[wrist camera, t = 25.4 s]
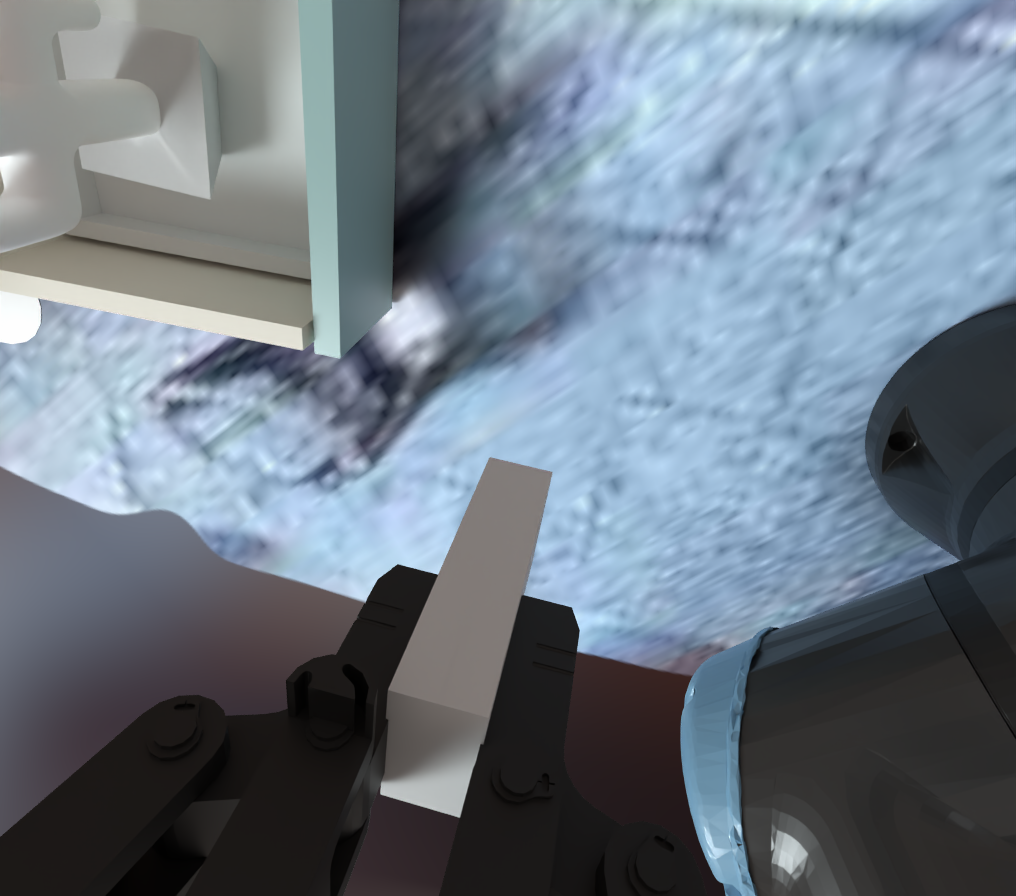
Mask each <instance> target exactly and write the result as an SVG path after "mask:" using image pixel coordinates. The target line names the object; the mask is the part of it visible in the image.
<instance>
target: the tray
mask: <svg viewBox="0 0 1016 896" xmlns="http://www.w3.org/2000/svg"><path fill="white" fill-rule="evenodd" d="M95 1H96V3H97V5H98V7H99V9H100V13H101V15H103V16H108V17H112V18H116V19H121V20H125V21H129V22H134V23H138V24H143V25H147V26H151V27H156V28H160V29H164V30H169V31H173V32H177V33H182V34H186V35H191V36H195V37H199V39H200V41H201V42H202V44H203V45H204V47H205V49H206V50H207V52H208V54H209V55H210V57H211V58H212V60H213V62H214V63H215V65H216V68H217V84H218V100H219V116H220V132H221V148H222V157H221V161H220V165H219V169H218V173H217V177H216V181H215V185H214V189H213V193H212V196H211V200H210V199H205V198H201V197H197V196H193V195H189V194H185V193H181V192H177V191H173V190H168V189H164V188H160V187H156V186H152V185H148V184H144V183H140V182H135V181H131V180H127V179H123V178H119V177H115V176H111V175H107V174H102V173H98V172H94V171H90V170H86V169H82V165H81V159H80V154H79V148H78V149H77V150H76V152H75V155H74V168H75V173H76V178H77V184H78V189H79V195H80V200H81V206H82V215H81V219H80V221H79V223H78V225H77V226H76V227H74V228H73V229H72V230H70V231H68V232H66V234H69V235H74V236H79V237H85V238H90V239H95V240H101V241H106V242H111V243H117V244H122V245H128V246H133V247H138V248H144V249H149V250H154V251H160V252H165V253H170V254H176V255H181V256H187V257H192V258H197V259H203V260H208V261H213V262H219V263H224V264H229V265H235V266H240V267H245V268H251V269H256V270H262V271H267V272H272V273H278V274H283V275H288V276H294V277H299V278H304V279H310V280H311V284H312V305H313V326H314V347H315V353H316V354H321V355H326V356H331V357H336V358H341V357H342V356H343V355H344V354H345V353H346V352H347V351H348V350H349V349H350V348H351V347H352V346H353V345H354V344H355V343H357V342H358V341H359V340H360V339H361V338H362V337H363V336H364V335H365V334H366V333H367V332H368V331H369V330H370V329H371V328H372V327H373V326H374V325H375V324H376V323H377V322H378V321H379V320H380V319H381V318H382V317H383V316H384V315H385V314H386V313H387V312H388V311H389V310H390V309H391V308H392V280H393V239H394V198H395V157H396V116H397V75H398V34H399V0H95ZM52 48H53V54H54V59H55V65H56V70H57V75H58V80H66V75H65V70H64V64H63V59H62V53H61V47H60V42H59V36H58V32H57V33H56V34H55V35H54V37H53V39H52Z"/></svg>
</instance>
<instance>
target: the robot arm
mask: <svg viewBox="0 0 1016 896" xmlns="http://www.w3.org/2000/svg"><path fill="white" fill-rule="evenodd" d="M865 449H866V458H867V463H868V466H869V470H870V472H871V475H872V477H873V479H874V481H875V483H876V484H877V486H878V488H879V490H880V491H881V493H882V495H883V497H884V498H885V500H886V501H887V503H888V504H889V506H890V507H891V508H892V509H893V511H894V512H895V513H896V514H897V515H898V516H899V517H900V518H901V519H902V520H903V521H904V522H905V523H907V524H908V525H909V526H910V527H912V528H913V529H915V530H916V531H918V532H919V533H921V534H922V535H924V536H925V537H927V538H928V539H930V540H931V541H933V542H934V543H936V544H937V545H938V546H940V547H941V548H943V549H944V550H946V551H947V552H949V553H950V554H952V555H953V556H955V557H956V558H958V559H959V560H961V561H958V562H957V563H954V564H951V565H949V566H946V567H943V568H941V569H938V570H935V571H933V572H930V573H927V574H923V575H920V576H917V577H915V578H912V579H909V580H907V581H904V582H902V583H899V584H896V585H894V586H891V587H888V588H886V589H883V590H880V591H878V592H875V593H873V594H870V595H867V596H865V597H862V598H859V599H857V600H854V601H852V602H849V603H846V604H844V605H841V606H838V607H836V608H833V609H831V610H828V611H825V612H823V613H820V614H817V615H815V616H812V617H810V618H807V619H804V620H802V621H799V622H796V623H794V624H791V625H789V626H786V627H783V628H773V627H768V628H765V629H763V630H761V631H759V632H758V633H757V634H756V635H755V636H754V637H753V638H752V639H750V640H747V641H745V642H743V643H741V644H738V645H736V646H734V647H732V648H729V649H727V650H725V651H723V652H720V653H718V654H716V655H714V656H712V657H711V658H709V659H707V660H706V661H705V662H704V663H703V664H702V665H701V666H700V667H699V668H698V669H697V671H696V672H695V674H694V675H693V677H692V679H691V681H690V683H689V686H688V690H687V692H686V695H685V706H684V710H683V712H682V717H681V755H682V766H683V774H684V780H685V786H686V792H687V796H688V801H689V805H690V810H691V814H692V817H693V821H694V825H695V828H696V832H697V835H698V838H699V841H700V844H701V846H702V849H703V852H704V854H705V857H706V859H707V861H708V863H709V865H710V867H711V870H712V872H713V874H714V876H715V878H716V879H717V880H718V881H720V882H721V883H724V889H725V894H726V896H1016V305H1011V306H1007V307H1004V308H1000V309H997V310H994V311H991V312H988V313H985V314H982V315H980V316H977V317H975V318H972V319H970V320H968V321H966V322H964V323H961V324H960V325H958V326H956V327H954V328H952V329H950V330H948V331H947V332H945V333H943V334H942V335H940V336H938V337H937V338H936V339H934V340H933V341H931V342H930V343H928V344H927V345H926V346H924V347H923V348H922V349H920V350H919V351H918V352H917V353H916V354H914V355H913V356H912V357H911V358H910V359H909V360H908V361H907V362H906V363H905V364H904V365H903V366H902V367H901V368H900V369H899V370H898V371H897V372H896V373H895V375H894V376H893V377H892V378H891V380H890V381H889V382H888V384H887V385H886V387H885V388H884V389H883V391H882V393H881V394H880V396H879V398H878V400H877V402H876V404H875V406H874V408H873V411H872V413H871V416H870V419H869V422H868V426H867V431H866V440H865ZM551 477H552V472H550V471H546V470H541V469H537V468H533V467H529V466H524V465H520V464H516V463H512V462H508V461H503V460H499V459H495V458H491V457H490V458H489V460H488V462H487V464H486V467H485V469H484V471H483V474H482V476H481V478H480V480H479V483H478V485H477V487H476V490H475V492H474V494H473V496H472V499H471V501H470V503H469V506H468V508H467V510H466V513H465V515H464V517H463V519H462V522H461V524H460V526H459V529H458V531H457V533H456V535H455V538H454V540H453V542H452V545H451V547H450V549H449V551H448V554H447V556H446V558H445V561H444V563H443V565H442V567H441V570H440V572H439V574H438V575H437V574H433V573H429V572H425V571H421V570H417V569H414V568H410V567H406V566H402V565H398V564H397V565H396V566H395V567H393V568H392V569H391V570H390V571H388V572H387V573H386V574H384V575H383V576H382V577H380V578H379V579H378V580H377V582H376V584H375V585H374V587H373V589H372V591H371V593H370V594H369V596H368V598H367V601H366V604H364V605H363V607H362V609H361V611H360V613H359V614H358V617H357V620H356V621H355V622H354V623H353V625H352V627H351V629H350V631H349V632H348V634H347V636H346V638H345V640H344V641H343V643H342V645H341V647H340V649H339V650H338V652H337V654H336V655H326V656H322V657H317V658H313V659H311V660H310V661H308V662H306V663H304V664H303V665H301V666H299V667H298V668H297V669H296V670H295V671H294V672H293V673H292V674H291V675H290V676H289V678H288V679H287V680H286V689H287V704H288V709H286V710H283V711H280V712H276V713H269V714H258V715H236V716H235V715H234V716H225V713H224V710H223V709H222V708H221V707H220V706H219V705H218V704H217V703H216V702H215V701H214V700H211V699H209V698H206V697H202V696H200V695H189V696H188V695H187V696H177V697H174V698H171V699H168V700H166V701H163V702H160V703H158V704H157V705H155V706H154V707H152V708H151V709H149V710H148V711H146V712H145V713H143V714H142V715H141V716H139V717H138V718H137V719H136V720H135V721H134V722H133V723H131V724H130V725H129V726H128V727H127V728H126V729H124V730H123V731H122V732H121V733H120V734H119V735H117V736H116V737H115V738H114V739H113V740H112V741H111V742H109V743H108V744H107V745H106V746H105V747H104V748H102V749H101V750H100V751H99V752H98V753H97V754H96V755H94V756H93V757H92V758H91V759H90V760H89V761H87V762H86V763H85V764H84V765H83V766H82V767H81V768H79V769H78V770H77V771H76V772H75V773H74V774H72V775H71V776H70V777H69V778H68V779H67V780H66V781H64V782H63V783H62V784H61V785H60V786H59V787H58V788H56V789H55V790H54V791H53V792H52V793H50V794H49V795H48V796H47V797H46V798H45V799H44V800H42V801H41V802H40V803H39V804H38V805H37V806H35V807H34V808H33V809H32V810H31V811H30V812H29V813H27V814H26V815H25V816H24V817H23V818H22V819H20V820H19V821H18V822H17V823H16V824H15V825H13V826H12V827H11V828H10V829H9V830H8V831H7V832H5V833H4V834H3V835H2V836H1V837H0V896H343V894H344V892H345V889H346V887H347V884H348V882H349V879H350V876H351V874H352V871H353V868H354V865H355V863H356V860H357V858H358V855H359V852H360V850H361V847H362V845H363V842H364V839H365V836H366V834H367V831H368V825H369V819H370V810H371V807H372V804H373V802H374V799H375V796H376V794H377V791H378V789H379V786H380V784H381V793H380V794H381V795H385V796H388V797H392V798H395V799H398V800H402V801H405V802H409V803H412V804H416V805H419V806H422V807H426V808H430V809H433V810H436V811H439V812H443V813H446V814H450V815H453V816H456V817H460V819H459V823H458V826H457V830H456V834H455V838H454V842H453V845H452V849H451V853H450V857H449V860H448V864H447V868H446V872H445V876H444V879H443V883H442V887H441V890H440V894H439V896H707V894H706V890H705V887H704V883H703V879H702V875H701V873H700V871H699V868H698V866H697V864H696V862H695V859H694V857H693V855H692V853H691V852H690V851H689V850H688V848H687V847H686V846H685V845H684V844H683V842H682V841H681V840H680V839H679V838H678V837H677V836H676V835H674V834H672V833H671V832H669V831H668V830H667V829H665V828H663V827H662V826H660V825H656V824H652V823H648V822H644V821H640V822H635V823H629V824H625V825H624V826H621V825H620V824H619V823H617V822H616V821H614V820H613V819H611V818H610V817H608V816H607V815H605V814H604V813H602V812H601V811H599V810H598V809H596V808H595V807H594V806H592V805H591V804H590V803H589V802H588V801H587V800H585V799H584V798H583V797H582V796H581V794H580V793H579V792H578V791H577V789H576V788H575V787H574V785H573V783H572V781H571V779H570V778H569V775H568V774H567V770H566V766H565V762H564V743H565V736H566V728H567V721H568V714H569V706H570V699H571V691H572V684H573V674H574V668H575V661H576V654H577V646H578V639H579V631H580V630H579V627H578V624H577V621H576V618H575V615H574V613H573V610H572V607H568V606H564V605H560V604H556V603H552V602H548V601H544V600H540V599H537V598H533V597H529V596H525V595H524V593H525V589H526V585H527V581H528V577H529V573H530V569H531V565H532V561H533V556H534V552H535V548H536V543H537V539H538V534H539V530H540V525H541V521H542V517H543V512H544V508H545V503H546V499H547V494H548V490H549V486H550V481H551Z"/></svg>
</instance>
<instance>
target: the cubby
mask: <svg viewBox="0 0 1016 896" xmlns="http://www.w3.org/2000/svg"><path fill="white" fill-rule="evenodd" d="M3 190H4V183H3V179H2V175H1V171H0V196H1V194H2V193H3ZM0 291H4V292H9V293H14V294H19V295H24V296H29V297H34V298H39V299H45V300H50V301H55V302H60V303H65V304H70V305H75V306H80V307H85V308H90V309H95V310H100V311H106V312H111V313H116V314H121V315H126V316H131V317H136V318H141V319H146V320H151V321H156V322H161V323H166V324H172V325H177V326H182V327H187V328H192V329H197V330H202V331H207V332H212V333H217V334H222V335H227V336H233V337H238V338H243V339H248V340H253V341H258V342H263V343H268V344H273V345H278V346H283V347H288V348H293V349H299V350H304V349H305V348H306V347H308V346H309V345H310V344H311V343H312V342H313V341H314V326H313V305H312V284H311V280H310V279H304V278H299V277H294V276H288V275H283V274H278V273H272V272H267V271H262V270H256V269H251V268H245V267H240V266H235V265H229V264H224V263H219V262H213V261H208V260H203V259H197V258H192V257H187V256H181V255H176V254H170V253H165V252H160V251H154V250H149V249H144V248H138V247H133V246H128V245H122V244H117V243H111V242H106V241H101V240H95V239H90V238H85V237H79V236H74V235H69V234H66V233H64V234H62V235H59V236H56V237H53V238H50V239H47V240H44V241H40V242H37V243H33V244H30V245H27V246H23V247H20V248H16V249H13V250H10V251H6V252H2V253H0Z"/></svg>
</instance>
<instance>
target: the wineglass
mask: <svg viewBox="0 0 1016 896" xmlns="http://www.w3.org/2000/svg"><path fill="white" fill-rule="evenodd" d="M40 324H41V306H40V303H39V300H38V298H34V297H29V296H24V295H19V294H14V293H9V292H4V291H0V342H4V343H10V344H16V343H22V342H26V341H28V340H29V339H30V338H32V337H33V336H34V335H36V333H37V330H38V328H39V326H40Z"/></svg>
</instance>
